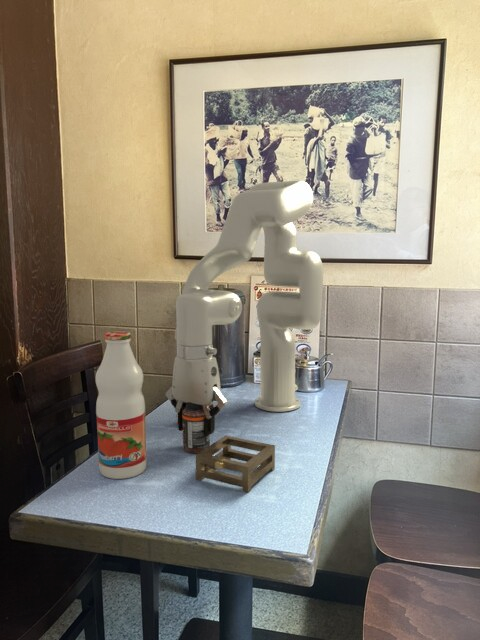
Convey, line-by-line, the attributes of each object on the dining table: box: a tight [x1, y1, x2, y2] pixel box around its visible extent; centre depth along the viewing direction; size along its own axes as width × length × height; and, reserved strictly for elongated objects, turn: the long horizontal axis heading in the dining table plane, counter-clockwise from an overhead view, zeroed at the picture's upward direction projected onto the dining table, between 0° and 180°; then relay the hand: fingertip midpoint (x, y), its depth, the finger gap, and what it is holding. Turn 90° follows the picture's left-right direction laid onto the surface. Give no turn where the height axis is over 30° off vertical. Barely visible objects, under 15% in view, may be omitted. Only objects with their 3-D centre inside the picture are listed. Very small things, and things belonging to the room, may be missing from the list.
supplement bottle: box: [182, 402, 211, 454], centre depth 116 cm, size 6×6×11 cm
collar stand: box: [195, 435, 276, 494], centre depth 103 cm, size 12×11×5 cm
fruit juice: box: [95, 330, 148, 480], centre depth 104 cm, size 9×9×28 cm
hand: (196, 430), depth 116 cm, fingers closed on supplement bottle, 6 cm apart
